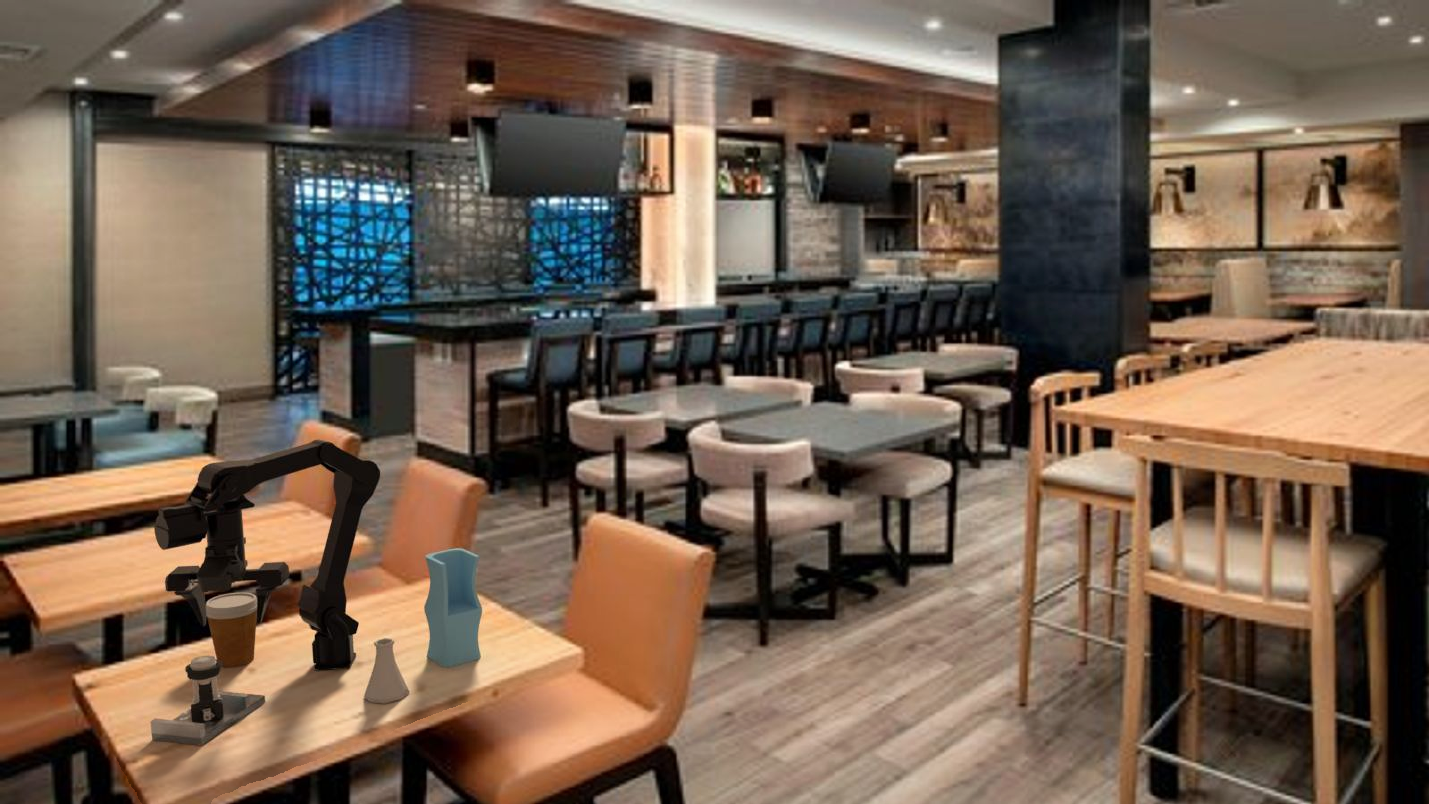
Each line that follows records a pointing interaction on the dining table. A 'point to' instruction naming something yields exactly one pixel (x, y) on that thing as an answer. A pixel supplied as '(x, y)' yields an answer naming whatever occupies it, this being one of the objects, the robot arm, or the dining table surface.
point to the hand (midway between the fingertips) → (231, 624)
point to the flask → (385, 675)
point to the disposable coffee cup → (233, 627)
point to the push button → (204, 689)
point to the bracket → (206, 730)
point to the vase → (453, 607)
